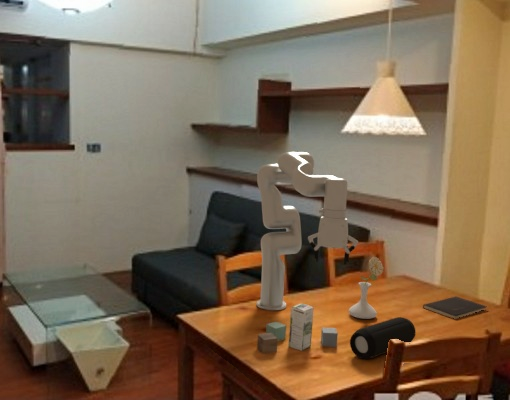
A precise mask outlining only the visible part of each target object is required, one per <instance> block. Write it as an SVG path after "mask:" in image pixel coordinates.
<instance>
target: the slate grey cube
mask: <svg viewBox="0 0 510 400" xmlns="http://www.w3.org/2000/svg"><path fill="white" fill-rule="evenodd" d="M338 335H339V334H338V331H337V328H336V327H321V335H320V342H321V346H322V347H331V348H337V347H338Z"/></svg>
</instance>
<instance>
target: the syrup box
mask: <svg viewBox="0 0 510 400" xmlns="http://www.w3.org/2000/svg"><path fill="white" fill-rule="evenodd" d="M289 322H290V323H289V334H288V347H289V348H292V349H295V350H298V351H304V350H306V349H309V348H310V347H311V346H312V336H313V335H312V334H313V333H312V332H313V323H314V307H313V306H311V305H309V304H305V303H297V304H296V305H293V306H291V307H290V320H289Z"/></svg>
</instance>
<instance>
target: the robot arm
mask: <svg viewBox="0 0 510 400" xmlns="http://www.w3.org/2000/svg"><path fill="white" fill-rule="evenodd" d="M314 167H315V160H314V157H313V156H312V155H311V153H308V152H304V151H298V152H297V151H286V152H283V153H282V154H281V155H279V157H278V159H277V163H268V164H264V165H262V166H260V168H259V169H258V171H257V177H256V181H257V186H258V189H259V195H260V198H261V213H262V223H263V226H264V227H265V228H266V229H269V230H280V229H282V230H283V229H285V230H286V231H273V232H267V233H265V234H264V235H263V236H262V237H261V239H260V249H261V280H260V281H261V283H260V284H261V286H260V299H259V300H257V301H256V306H257V307H258V308H259V309H261V310H266V311H281V310H284V309H286V308H287V303H286V301H284V292H285V291H284V288H285V285H284V284H285V269H286V268H285V267H286V266H285V263H284V261H283V259H282V258H281V256H282V255H292V254H293V255H294V254H298V253H299V252H300V250H301V249H302V243H303V242H302V241H303V240H302V228H301V226H302V225H301V216H300V213H299V210H298V209H297V208H296V207H295V206H293V205H283V203H282V202H283V200H282V198H283V197H282V193H281V192H280V190H279V189H278V188H277V186H276V185H292V186H293V189H295V191H296V192H298V193H300V195H302V196H304V197H308V198H309V197H310V198H311V197H313V198H314V197H316V198H317V197H324V198H323V200H324V201H323V208H321V209H318V210H319V214H321V215H322V216H321V217H320V219H319V224H318V230H317V231H318V232H316V233H313V234H311V235H308V237H307V241H308V243H309V245H310V246H311V247H312V248H313V250H314V260H315V262H316V263H319V261H320V248H321V247H324V248H333V249H334V248H335V249H343V250H344V251H345V252H344V255H343V256H344V258H343V265H344V266H346V265H347V263H349V259H350V253H351V252H352V251H354V250H355V248H356V247H357V246H358V244H359V240H357V239H356V238H355V237H352V236H351V235H349V223H348V218H346V213H347V211H346V210H347V200H348V198H347V196H348V195H347V194H348V181H347V179H345V178H341V177H337V176H334V175H329V174H326V175H325V174H324V175H323V174H321V175H319V174H316V175H314ZM315 238H317V241H316V242H317V243H316V242H315V241H314V239H315ZM348 241H350V242H351V243H352V244H351V246H350V247H349V246H348Z"/></svg>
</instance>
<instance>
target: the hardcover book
mask: <svg viewBox="0 0 510 400" xmlns="http://www.w3.org/2000/svg"><path fill="white" fill-rule="evenodd" d="M486 308H488V306H487V305H484V304H480V303H479V302H478V303H477V302H474V301H471V300H468V299H465V298H462V297H459V296H452V297H448V298H444V299H440V300H436V301H433V302H432V301H431V302H427V303H425V304H423V305H422V309H425V310H428V311H432V312H434V313H437V314H440V315H443V316H445V317H448V318H451V319H453V318H454V320H457V319H460V318H463V316H464V317H467V316H470V315H473V314H472V313H474V314H476V313H475V312H477V313H480V312H479V311H481V310H484V309H486ZM486 310H487V309H486ZM484 311H485V310H484ZM481 312H482V311H481ZM469 314H470V315H469ZM466 315H467V316H466ZM459 317H460V318H459Z"/></svg>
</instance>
